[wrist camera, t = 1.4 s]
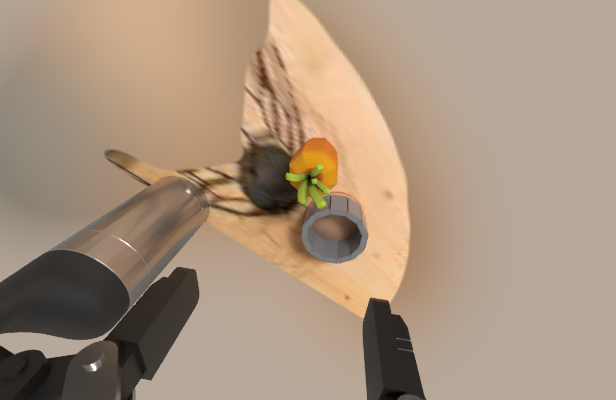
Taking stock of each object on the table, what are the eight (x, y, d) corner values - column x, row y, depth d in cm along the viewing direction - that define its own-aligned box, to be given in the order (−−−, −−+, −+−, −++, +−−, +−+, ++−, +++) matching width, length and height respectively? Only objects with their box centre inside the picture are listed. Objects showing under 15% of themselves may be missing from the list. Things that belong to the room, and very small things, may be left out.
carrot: (295, 133, 34) (265, 179, 20) (332, 118, 32) (324, 157, 19) (311, 167, 36) (292, 229, 22) (345, 154, 34) (347, 212, 21)
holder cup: (320, 247, 42) (317, 269, 37) (296, 203, 38) (290, 221, 34) (372, 232, 39) (376, 253, 35) (352, 183, 36) (353, 200, 31)
